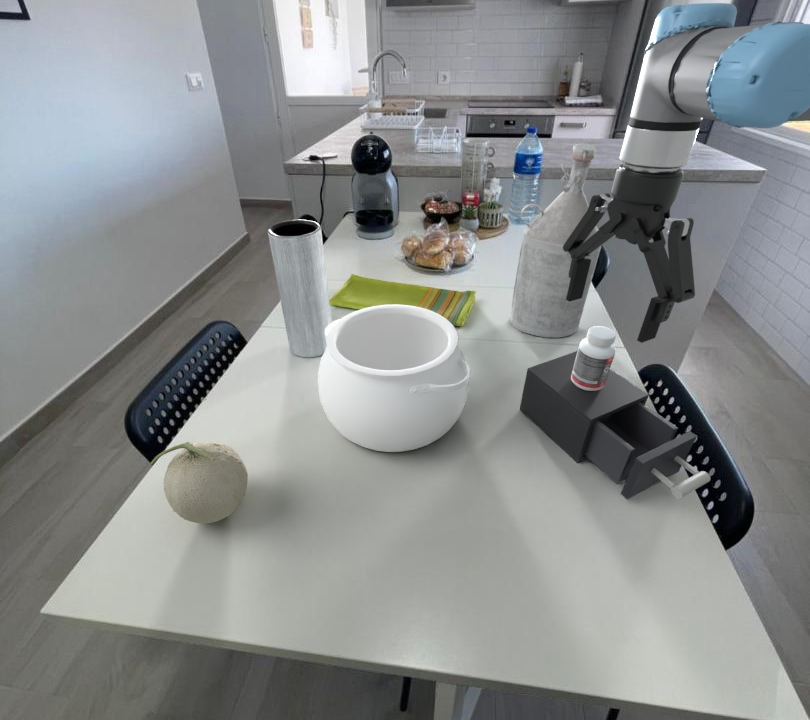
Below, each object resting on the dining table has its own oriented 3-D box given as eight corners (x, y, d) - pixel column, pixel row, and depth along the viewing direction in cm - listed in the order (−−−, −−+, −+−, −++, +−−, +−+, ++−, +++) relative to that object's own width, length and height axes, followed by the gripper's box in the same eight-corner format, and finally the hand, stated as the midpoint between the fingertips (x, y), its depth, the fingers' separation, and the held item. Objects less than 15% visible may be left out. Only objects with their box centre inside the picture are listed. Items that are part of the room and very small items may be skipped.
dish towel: (463, 329, 106) (464, 317, 104) (328, 307, 115) (326, 296, 114) (476, 300, 118) (477, 289, 116) (352, 282, 127) (351, 271, 125)
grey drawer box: (631, 437, 77) (649, 394, 71) (577, 463, 72) (591, 419, 67) (570, 389, 88) (581, 349, 82) (519, 409, 83) (527, 368, 77)
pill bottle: (605, 394, 71) (622, 343, 66) (570, 389, 73) (584, 338, 67) (603, 375, 76) (619, 325, 70) (570, 370, 77) (583, 320, 71)
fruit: (186, 481, 70) (154, 410, 61) (260, 477, 71) (239, 405, 62) (161, 542, 61) (120, 469, 53) (246, 536, 62) (219, 463, 53)
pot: (288, 417, 82) (272, 342, 72) (380, 351, 99) (377, 283, 89) (414, 494, 68) (414, 414, 58) (496, 402, 85) (507, 328, 75)
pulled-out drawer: (709, 495, 66) (731, 459, 61) (656, 526, 62) (675, 490, 57) (610, 418, 79) (622, 384, 75) (561, 440, 75) (571, 405, 71)
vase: (299, 363, 95) (278, 241, 80) (283, 342, 102) (260, 225, 86) (342, 349, 100) (329, 230, 84) (323, 329, 106) (308, 216, 91)
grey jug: (505, 309, 114) (529, 137, 91) (576, 314, 111) (619, 139, 88) (505, 335, 104) (532, 150, 81) (583, 342, 101) (633, 152, 78)
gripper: (778, 184, 47) (702, 352, 59) (595, 146, 65) (566, 280, 77) (733, 194, 44) (663, 367, 56) (555, 151, 62) (532, 289, 74)
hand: (607, 317), depth 67 cm, fingers open, 13 cm apart
